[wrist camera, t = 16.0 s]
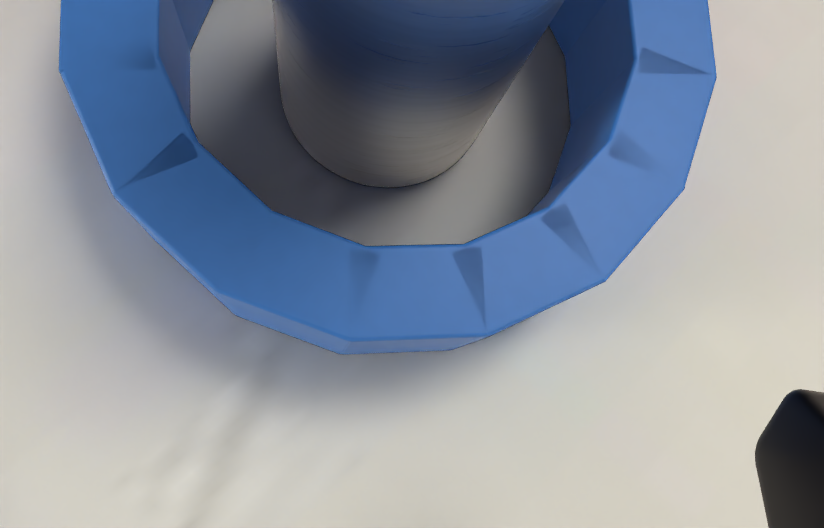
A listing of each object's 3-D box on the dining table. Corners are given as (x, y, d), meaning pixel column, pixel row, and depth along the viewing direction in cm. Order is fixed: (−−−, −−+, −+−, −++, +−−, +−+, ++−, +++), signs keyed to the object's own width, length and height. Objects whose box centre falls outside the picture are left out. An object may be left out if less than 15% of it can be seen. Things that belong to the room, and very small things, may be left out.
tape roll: (719, 222, 18) (821, 179, 14) (244, 448, 16) (225, 460, 12) (500, -203, 19) (543, -340, 15) (28, -50, 17) (-45, -169, 13)
